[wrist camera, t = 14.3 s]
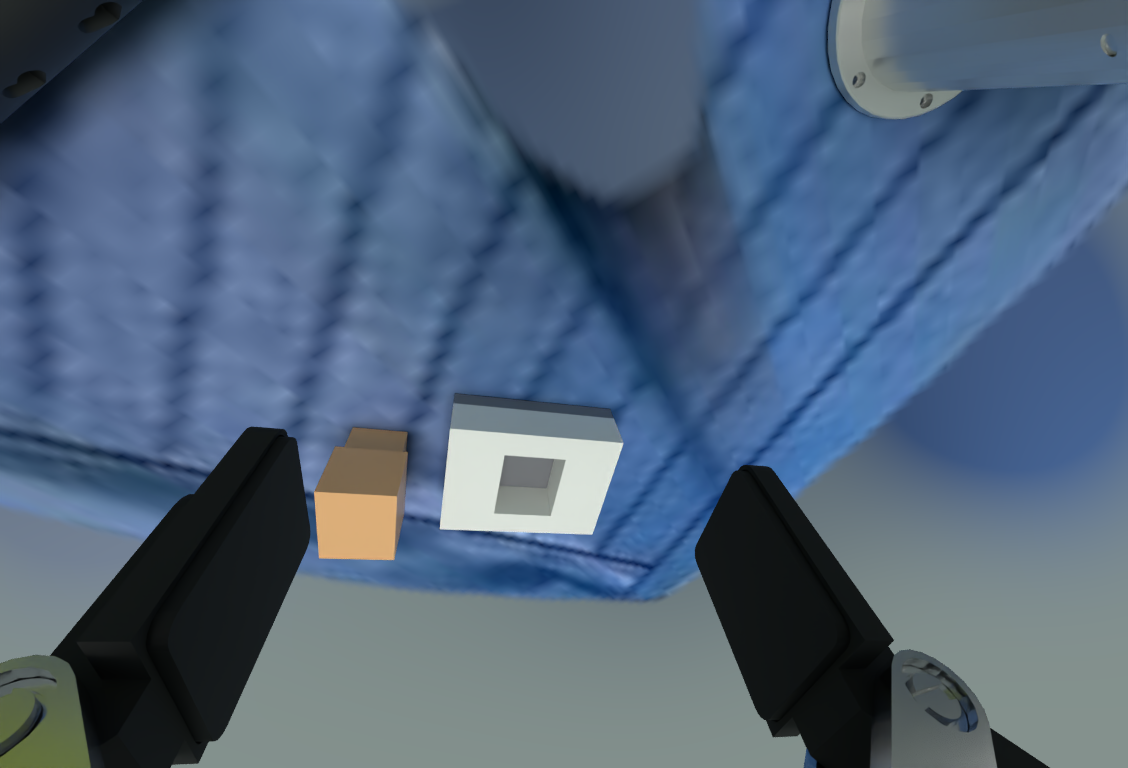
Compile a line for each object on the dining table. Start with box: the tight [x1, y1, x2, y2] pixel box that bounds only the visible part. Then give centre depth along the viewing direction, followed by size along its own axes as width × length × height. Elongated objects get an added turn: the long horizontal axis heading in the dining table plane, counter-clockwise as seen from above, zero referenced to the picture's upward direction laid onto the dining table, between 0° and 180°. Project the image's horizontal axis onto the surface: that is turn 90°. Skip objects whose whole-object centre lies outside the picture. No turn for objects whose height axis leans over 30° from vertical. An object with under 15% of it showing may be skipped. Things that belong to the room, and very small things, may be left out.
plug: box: [314, 427, 408, 560], centre depth 37 cm, size 6×7×8 cm
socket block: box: [440, 394, 623, 535], centre depth 41 cm, size 14×11×5 cm
